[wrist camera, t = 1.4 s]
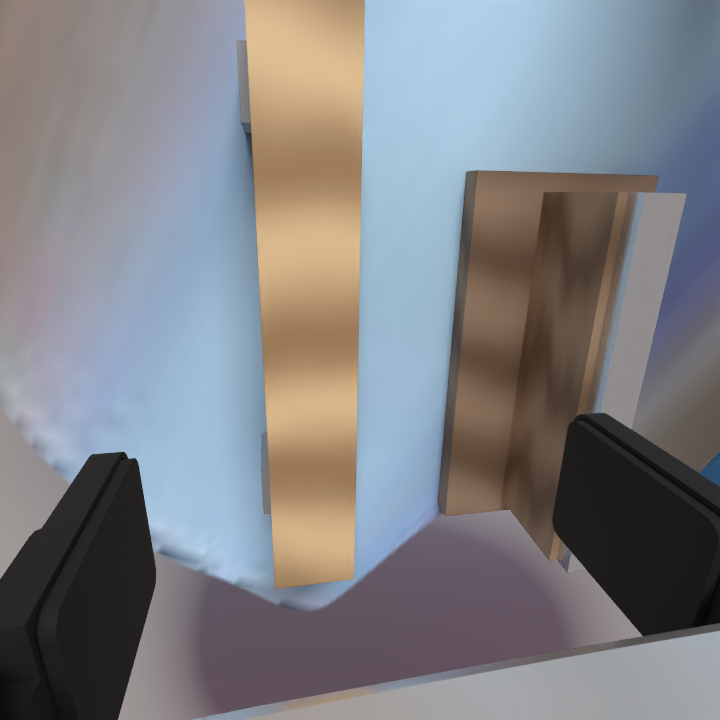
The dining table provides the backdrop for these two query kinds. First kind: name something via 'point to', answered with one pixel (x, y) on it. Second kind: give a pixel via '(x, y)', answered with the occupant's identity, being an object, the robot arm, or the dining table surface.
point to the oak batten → (309, 271)
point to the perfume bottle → (713, 470)
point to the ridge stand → (547, 330)
